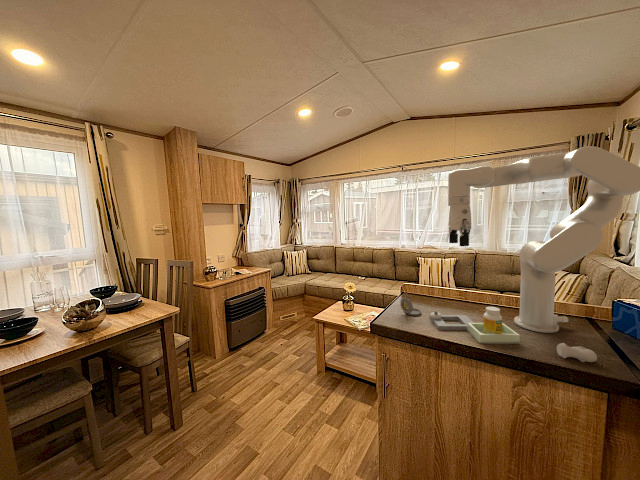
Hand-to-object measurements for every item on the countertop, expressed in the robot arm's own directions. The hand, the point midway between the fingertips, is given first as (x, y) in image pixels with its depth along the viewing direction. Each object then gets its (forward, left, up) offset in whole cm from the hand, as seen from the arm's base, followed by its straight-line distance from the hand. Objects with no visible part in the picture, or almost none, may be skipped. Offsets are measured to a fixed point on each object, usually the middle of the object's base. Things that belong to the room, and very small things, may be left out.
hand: (458, 244), depth 100 cm
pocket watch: (+18, -3, -31) cm, 36 cm away
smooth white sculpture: (-20, +29, -31) cm, 47 cm away
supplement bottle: (-4, +17, -30) cm, 35 cm away
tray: (-4, +17, -30) cm, 35 cm away
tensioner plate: (+5, +7, -30) cm, 31 cm away
